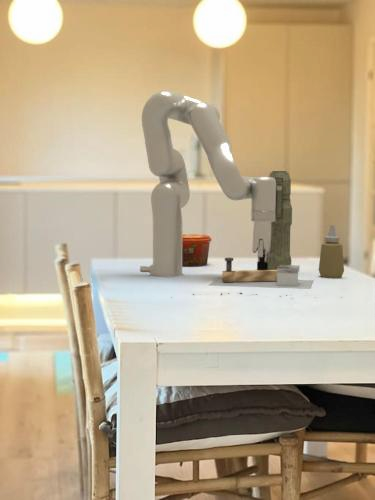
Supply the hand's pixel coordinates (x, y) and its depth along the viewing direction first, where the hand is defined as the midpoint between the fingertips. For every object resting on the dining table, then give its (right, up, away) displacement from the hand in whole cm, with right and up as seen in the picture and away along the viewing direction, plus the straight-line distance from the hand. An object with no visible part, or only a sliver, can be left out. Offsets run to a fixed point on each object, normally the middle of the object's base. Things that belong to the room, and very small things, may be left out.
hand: (262, 274), depth 274 cm
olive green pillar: (+7, -1, +19) cm, 20 cm away
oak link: (-2, -2, -6) cm, 7 cm away
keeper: (+7, -3, -12) cm, 14 cm away
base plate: (-1, -4, -9) cm, 10 cm away
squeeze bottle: (+23, -3, +6) cm, 24 cm away
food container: (-23, +2, +50) cm, 55 cm away
